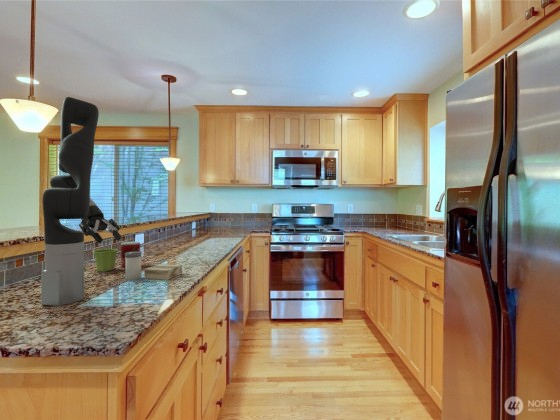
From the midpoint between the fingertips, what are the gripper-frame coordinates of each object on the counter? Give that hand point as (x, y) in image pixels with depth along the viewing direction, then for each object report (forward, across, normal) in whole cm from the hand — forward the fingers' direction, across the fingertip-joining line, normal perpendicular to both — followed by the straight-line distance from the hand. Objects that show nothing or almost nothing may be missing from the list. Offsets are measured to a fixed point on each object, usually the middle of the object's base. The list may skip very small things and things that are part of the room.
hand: (110, 240), depth 111 cm
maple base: (+24, +7, -4) cm, 25 cm away
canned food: (+6, +17, +15) cm, 23 cm away
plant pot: (+3, +7, +18) cm, 19 cm away
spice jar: (+18, 0, +2) cm, 18 cm away
